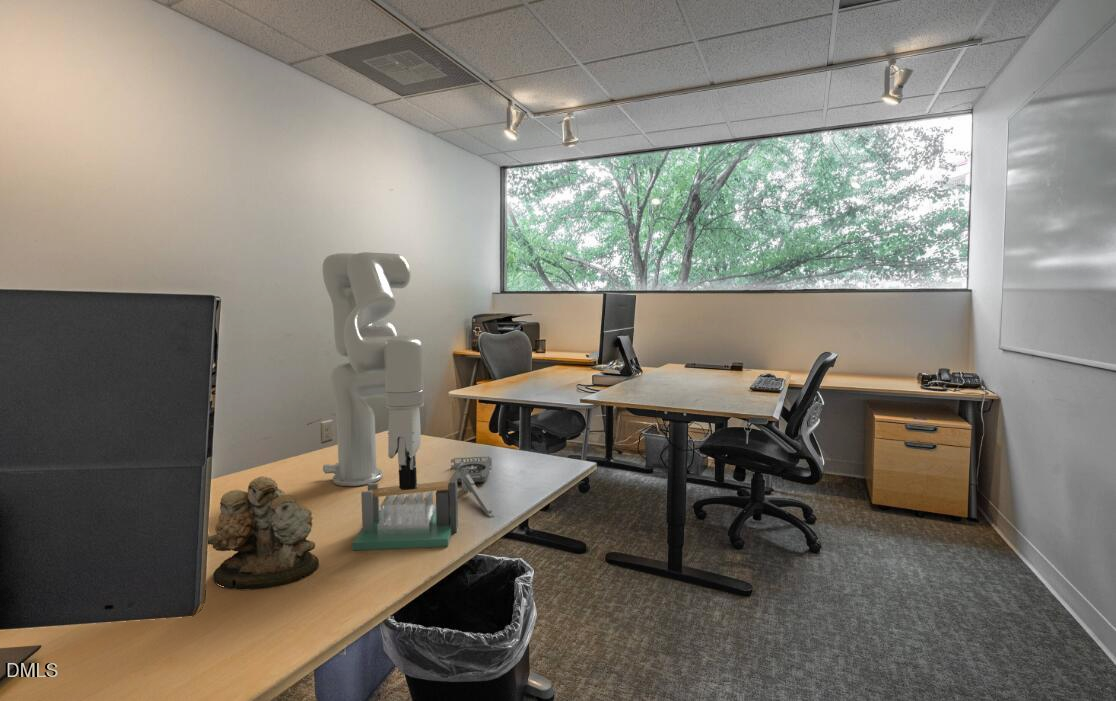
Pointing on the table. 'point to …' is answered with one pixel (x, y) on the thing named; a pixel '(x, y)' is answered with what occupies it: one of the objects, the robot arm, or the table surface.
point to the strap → (419, 488)
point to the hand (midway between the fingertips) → (408, 487)
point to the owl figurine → (263, 537)
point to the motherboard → (372, 540)
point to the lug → (447, 506)
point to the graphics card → (473, 468)
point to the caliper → (475, 492)
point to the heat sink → (407, 514)
